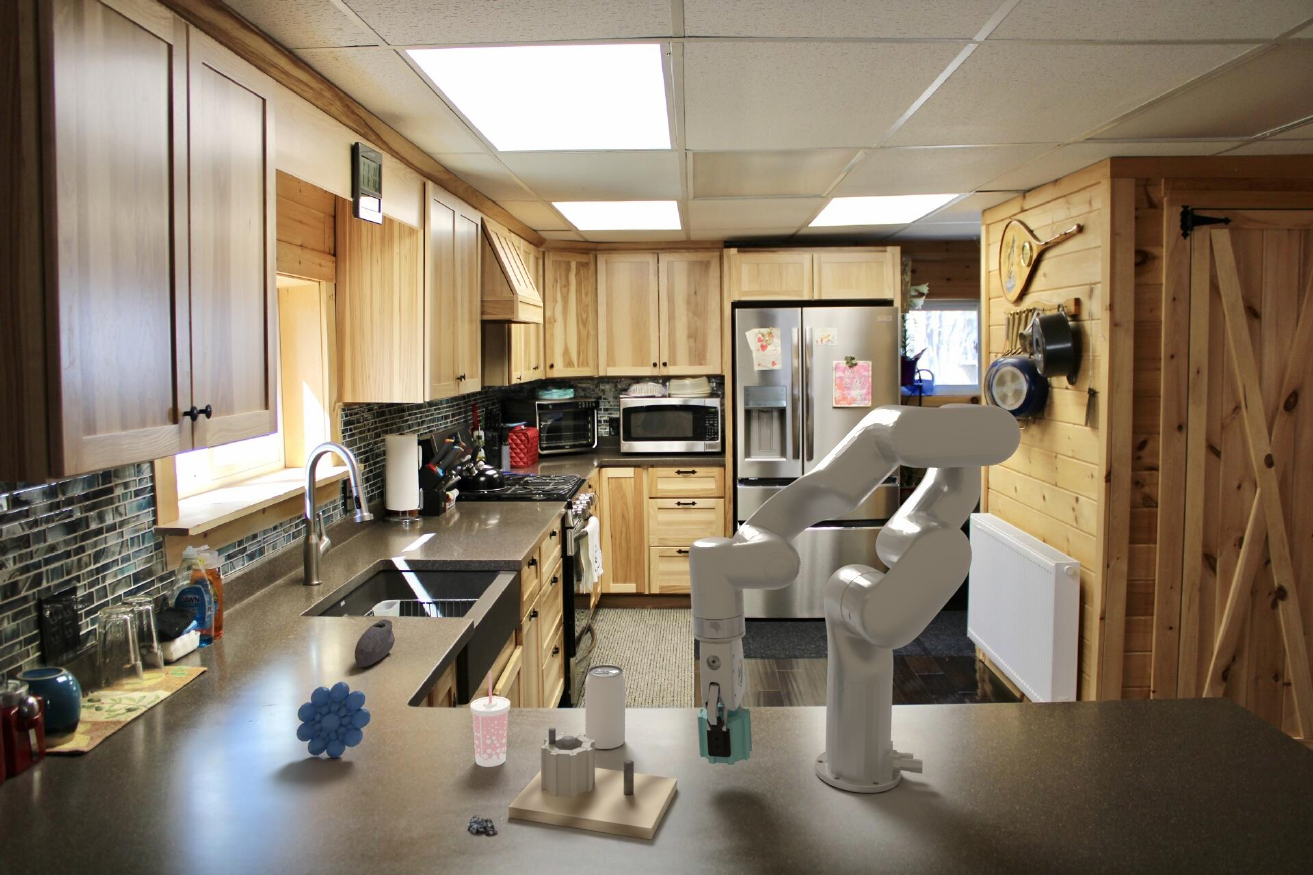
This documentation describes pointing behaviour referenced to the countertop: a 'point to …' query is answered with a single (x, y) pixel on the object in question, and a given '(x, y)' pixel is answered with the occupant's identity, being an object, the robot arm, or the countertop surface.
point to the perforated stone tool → (374, 643)
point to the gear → (567, 764)
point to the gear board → (602, 803)
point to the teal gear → (738, 735)
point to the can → (605, 706)
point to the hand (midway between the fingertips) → (724, 742)
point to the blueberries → (481, 826)
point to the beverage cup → (490, 728)
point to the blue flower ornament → (332, 720)
